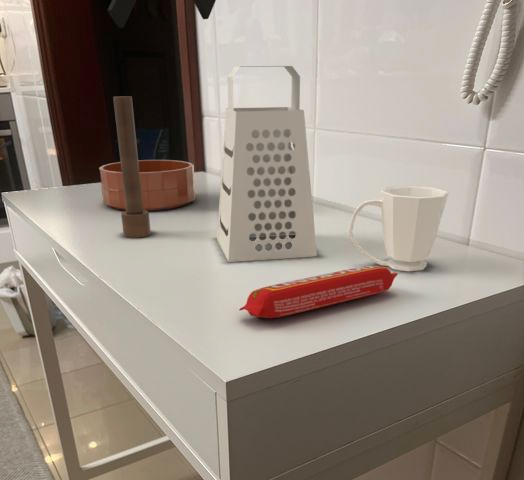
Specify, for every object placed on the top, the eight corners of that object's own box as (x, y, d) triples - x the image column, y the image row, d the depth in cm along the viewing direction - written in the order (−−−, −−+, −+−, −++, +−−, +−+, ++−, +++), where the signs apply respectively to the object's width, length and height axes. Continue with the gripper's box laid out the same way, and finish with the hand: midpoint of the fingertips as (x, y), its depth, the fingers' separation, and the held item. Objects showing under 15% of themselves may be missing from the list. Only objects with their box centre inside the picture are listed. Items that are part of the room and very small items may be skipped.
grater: (317, 256, 65) (324, 65, 57) (228, 262, 64) (221, 65, 55) (294, 234, 75) (297, 67, 66) (216, 238, 73) (209, 67, 64)
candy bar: (374, 284, 56) (377, 256, 55) (400, 295, 53) (403, 265, 52) (235, 317, 49) (234, 285, 48) (256, 331, 46) (255, 297, 45)
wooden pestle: (122, 232, 76) (105, 96, 69) (148, 230, 77) (135, 95, 70) (125, 239, 73) (108, 97, 66) (152, 236, 74) (139, 96, 67)
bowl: (100, 197, 99) (96, 162, 96) (185, 192, 103) (182, 158, 101) (108, 215, 86) (103, 175, 83) (204, 208, 90) (202, 169, 88)
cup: (444, 276, 59) (455, 197, 55) (348, 273, 59) (353, 196, 56) (432, 256, 65) (442, 185, 61) (346, 255, 66) (350, 184, 62)
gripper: (301, -94, 74) (252, 31, 69) (152, -66, 85) (100, 44, 80) (282, -158, 68) (227, -25, 63) (123, -118, 79) (65, -2, 73)
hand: (156, 14), depth 71 cm, fingers open, 13 cm apart
